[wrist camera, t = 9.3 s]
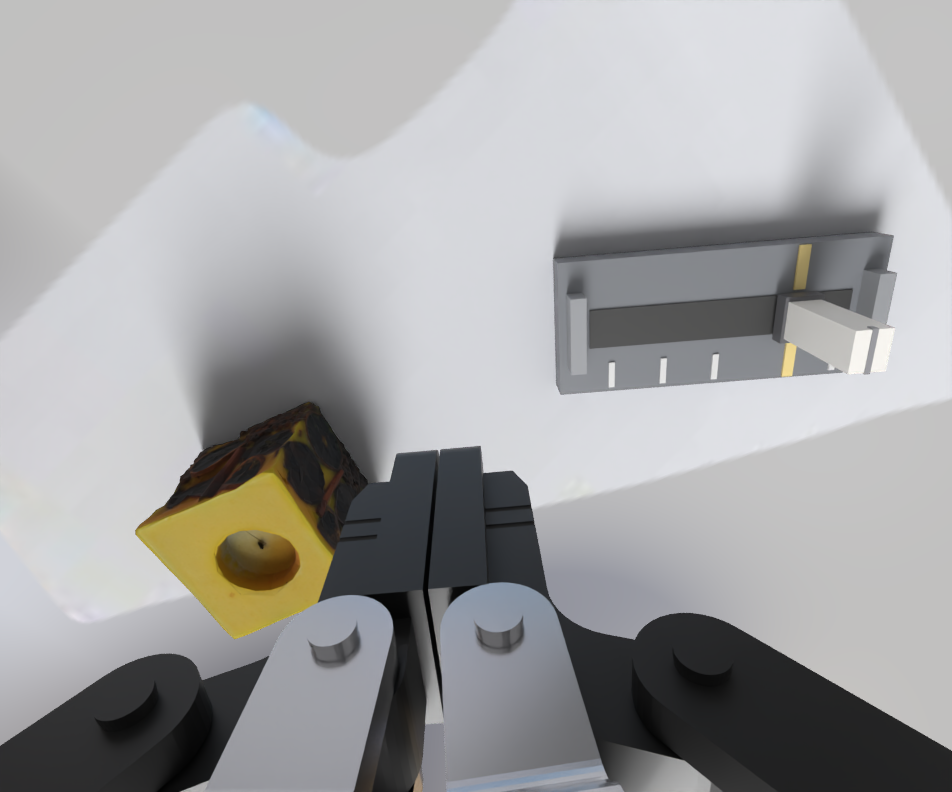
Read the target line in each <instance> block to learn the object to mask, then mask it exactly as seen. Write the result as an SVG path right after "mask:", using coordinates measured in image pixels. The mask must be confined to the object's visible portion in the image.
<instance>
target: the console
mask: <svg viewBox="0 0 952 792" xmlns="http://www.w3.org/2000/svg"><path fill="white" fill-rule="evenodd" d="M893 237H894V236H893V235H887V234H881V233H876V232H866V233H854V234H841V235H829V236H817V237H805V238H793V239H781V240H769V241H757V242H745V243H733V244H721V245H709V246H697V247H685V248H673V249H660V250H648V251H636V252H624V253H612V254H600V255H588V256H576V257H564V258H553V271H554V311H555V351H556V385H557V387H558V390H559V392H560V394H561V395H564V394H576V393H589V392H602V391H614V390H627V389H640V388H652V387H665V386H678V385H690V384H703V383H716V382H728V381H741V380H754V379H766V378H779V377H792V376H804V375H817V374H830V373H842V371H841V370H839V369H837V368H835V367H833V366H832V365H830V364H828V363H826V362H824V361H823V360H821V359H819V358H817V357H815V356H814V355H812V354H810V353H808V352H806V351H805V350H803V349H801V348H799V347H797V346H795V345H794V344H792V343H782V344H780V343H778V342H776V341H774V340H773V339H772V335H773V328H774V320H775V313H776V305H777V297H778V294H786V293H798V292H810V291H817V292H820V293H822V294H825V298H824V301H826V302H829V303H832V304H834V305H837V306H839V307H842V308H845V309H847V310H850V311H852V312H855V313H858V314H860V315H863V316H865V317H868V318H871V319H873V320H876V321H879V322H881V323H884V324H886V323H887V319H888V314H889V309H890V305H891V300H892V295H893V291H894V286H895V281H896V276H897V273H895V272H891V271H887V266H888V262H889V257H890V252H891V247H892V242H893Z"/></svg>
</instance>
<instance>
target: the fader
mask: <svg viewBox="0 0 952 792" xmlns="http://www.w3.org/2000/svg"><path fill="white" fill-rule="evenodd" d="M824 298H825V294H822V293H820V292H817V291H810V292H798V293H786V294H778V297H777V305H776V313H775V320H774V328H773V335H772V339H773V340H774V341H776V342H778V343H780V344H782V343H792V344H794V345H795V346H797V347H799V348H801V349H803V350H805V351H806V352H808V353H810V354H812V355H814V356H815V357H817V358H819V359H821V360H823V361H824V362H826V363H828V364H830V365H832V366H833V367H835V368H837V369H839V370H841V371H842V372H844V373H846V374H860V373H863V374H870V373H872V372H885V371H886V368H887V363H888V358H889V354H890V349H891V345H892V340H893V336H894V331H895V328H894V327H892V326H889V325H886V324H884V323H881V322H879V321H876V320H873V319H871V318H868V317H865V316H863V315H860V314H858V313H855V312H852V311H850V310H847V309H845V308H842V307H839V306H837V305H834V304H832V303H829V302H826V301H824Z"/></svg>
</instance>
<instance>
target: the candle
mask: <svg viewBox="0 0 952 792" xmlns="http://www.w3.org/2000/svg"><path fill="white" fill-rule="evenodd" d="M367 485H368V482H367V480H366V478H365V477H364V476H363V475H362V474H361V473H360V472H359V469H358V467H357V466H356V465H355V463H354V461H353V460H352V459H351V458H350V455H349V453H348V452H347V451H346V449H345V448H344V445H343V444H342V443H341V442H340V441H339V440H338V438H337V437H336V435H335V434H334V433H333V431H332V429H331V427H330V426H329V424H328V423H327V421H326V420H325V418H324V417H323V416H322V414H321V412H320V409H319V406H316V405H314V404H312V403H311V402H308V403H305V404H302V405H300V406H298V407H296V408H294V409H292V410H290V411H288V412H286V413H284V414H278V416H275V417H272V418H270V419H268V420H266V421H264V422H263V423H261V424H257V425H255V426H253V427H250V428H248V430H247V431H241V433H240V438H239V439H237V440H235V441H231V442H227V443H225V444H221V445H214V446H212V447H210V448H207V449H206V450H204V451H202V452H200V454H199V455H198V457H197V458H196V459H195V460H194V464H192V465H190V468H189V469H188V470H186V472H185V473H184V474H183V475H182V476H180V483H179V484H178V486H177V488H176V490H175V492H174V494H173V495H172V496H171V497H170V499H169V500H168V502H167V503H166V504H165V505H164V506H163V507H161V508H159V509H157V510H156V511H155V512H154V513H153V514H152V515H151V516H150V517H149V518H148V519H146V520H145V521H144V522H143V523H141V524H140V525H139V526H138V528H137V529H136V530H135V533H136V535H137V537H138V538H139V539H140V540H141V541H142V542H143V543H144V544H145V545H146V546H147V547H148V548H149V549H150V550H151V551H152V552H153V553H154V554H155V555H156V556H157V557H158V558H159V559H160V561H161V562H162V563H163V564H164V565H165V566H166V567H167V568H168V569H169V570H170V571H171V572H172V573H173V574H174V575H175V576H176V577H177V578H178V579H179V580H180V581H181V582H182V583H183V584H184V585H185V586H186V587H187V588H188V589H189V591H190V592H191V593H192V594H193V595H194V596H195V597H196V598H197V599H198V600H199V601H200V602H201V604H202V605H203V606H204V607H205V608H206V609H207V610H208V612H209V613H210V614H211V615H212V616H213V617H214V619H215V620H216V621H217V622H218V623H219V624H220V625H221V626H222V628H223V629H224V630H225V631H226V632H227V633H228V634H229V635H231V636H232V637H233V638H234V639H237V638H239V637H242V636H245V635H248V634H250V633H252V632H255V631H257V630H259V629H262V628H264V627H266V626H269V625H271V624H273V623H275V622H277V621H280V620H282V619H284V618H287V617H289V616H291V615H294V614H296V613H299V612H302V611H304V610H305V609H307V608H309V607H311V606H312V605H314V604H317V603H318V600H319V597H320V594H321V591H322V588H323V585H324V582H325V579H326V576H327V573H328V570H329V567H330V564H331V561H332V558H333V555H334V553H335V550H336V547H337V544H338V542H340V535H341V532H342V529H343V526H344V525H345V520H346V517H347V514H348V511H349V508H350V505H351V502H352V500H353V499H354V498H355V497H356V496H357V495H358V494H359V493H360V492H361V491H362V490H363V489H364V488H365V487H366V486H367Z"/></svg>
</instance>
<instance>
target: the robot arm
mask: <svg viewBox="0 0 952 792" xmlns="http://www.w3.org/2000/svg"><path fill="white" fill-rule="evenodd" d="M436 723H444V736H445V737H444V738H445V762H446V784H447V785H446V786H447V792H952V751H951V750H949V749H948V748H946V747H944V746H942V745H941V744H939V743H937V742H935V741H933V740H932V739H930V738H928V737H927V736H925V735H923V734H921V733H920V732H918V731H916V730H914V729H913V728H911V727H909V726H907V725H906V724H904V723H902V722H901V721H899V720H897V719H895V718H893V717H892V716H890V715H888V714H887V713H885V712H883V711H881V710H880V709H878V708H876V707H874V706H873V705H871V704H869V703H867V702H866V701H864V700H862V699H860V698H859V697H857V696H855V695H853V694H851V693H850V692H848V691H846V690H844V689H843V688H841V687H839V686H838V685H836V684H834V683H832V682H831V681H829V680H827V679H825V678H824V677H822V676H820V675H819V674H817V673H815V672H813V671H812V670H810V669H808V668H806V667H805V666H803V665H801V664H799V663H797V662H796V661H794V660H792V659H791V658H789V657H787V656H785V655H784V654H782V653H780V652H778V651H777V650H775V649H773V648H771V647H770V646H768V645H766V644H764V643H763V642H761V641H759V640H758V639H756V638H754V637H752V636H751V635H749V634H747V633H745V632H744V631H742V630H740V629H738V628H737V627H735V626H733V625H731V624H729V623H727V622H725V621H722V620H719V619H716V618H714V617H710V616H706V615H701V614H693V613H677V614H669V615H666V616H662V617H659V618H657V619H655V620H653V621H651V622H650V623H648V624H647V625H646V626H644V627H643V629H642V630H641V631H640V632H639V633H638V635H637V637H636V639H635V640H633V639H627V638H622V637H617V636H612V635H606V634H602V633H598V632H594V631H591V630H589V629H586V628H583V627H581V626H579V625H578V624H576V623H574V622H572V621H571V620H569V619H568V618H566V617H565V616H564V615H563V614H562V613H561V612H560V611H559V610H558V609H557V608H556V607H555V605H554V604H553V602H552V600H551V599H550V597H549V594H548V590H547V586H546V581H545V575H544V570H543V566H542V560H541V554H540V549H539V544H538V539H537V533H536V528H535V525H534V518H533V512H532V509H531V502H530V497H529V491H528V486H527V485H526V484H525V483H524V482H523V481H522V480H521V479H520V478H519V477H518V476H517V475H516V474H515V473H514V472H513V471H503V472H492V473H483V463H482V453H481V446H475V447H463V448H452V449H441V450H440V456H439V452H438V450H431V451H420V452H409V453H398V454H397V455H396V458H395V462H394V467H393V471H392V475H391V479H390V482H380V483H369V484H368V485H367V486H366V487H365V488H364V489H363V490H362V491H361V492H360V493H359V494H358V495H357V496H356V497H355V498H354V499H353V500H352V502H351V505H350V508H349V511H348V514H347V517H346V520H345V525H344V526H343V529H342V532H341V535H340V542H338V544H337V547H336V550H335V553H334V555H333V558H332V561H331V564H330V567H329V570H328V573H327V576H326V579H325V582H324V585H323V588H322V591H321V594H320V597H319V600H318V603H317V604H314V605H312V606H311V607H309V608H307V609H305V610H304V611H302V612H301V613H300V614H298V615H297V616H296V617H295V618H294V619H293V620H292V621H291V622H290V623H288V625H287V626H286V627H285V628H284V630H283V631H282V633H281V635H280V636H279V638H278V639H277V642H276V644H275V646H274V648H273V650H272V652H271V654H270V656H268V657H266V658H264V659H262V660H259V661H257V662H254V663H252V664H249V665H246V666H243V667H240V668H237V669H234V670H231V671H228V672H225V673H222V674H220V675H217V676H214V677H211V678H208V679H205V680H202V679H201V677H200V674H199V672H198V669H197V667H196V665H195V664H194V663H193V662H192V661H191V660H190V659H188V658H186V657H184V656H181V655H176V654H158V655H152V656H148V657H144V658H141V659H137V660H135V661H132V662H130V663H128V664H125V665H123V666H121V667H119V668H117V669H115V670H114V671H112V672H110V673H109V674H107V675H105V676H104V677H102V678H101V679H99V680H98V681H96V682H95V683H93V684H92V685H90V686H89V687H87V688H86V689H84V690H83V691H82V692H80V693H78V694H77V695H76V696H74V697H73V698H71V699H69V700H68V701H66V702H65V703H64V704H62V705H60V706H59V707H58V708H56V709H54V710H53V711H52V712H50V713H49V714H47V715H46V716H44V717H43V718H41V719H40V720H38V721H37V722H35V723H34V724H32V725H31V726H29V727H28V728H26V729H25V730H23V731H22V732H20V733H19V734H17V735H16V736H14V737H13V738H11V739H10V740H8V741H7V742H5V743H4V744H2V745H1V746H0V792H422V790H423V774H422V768H421V764H422V757H423V744H424V731H425V724H436Z"/></svg>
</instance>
